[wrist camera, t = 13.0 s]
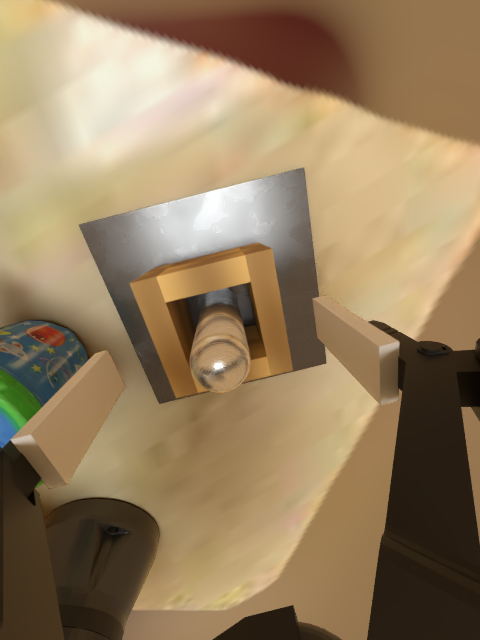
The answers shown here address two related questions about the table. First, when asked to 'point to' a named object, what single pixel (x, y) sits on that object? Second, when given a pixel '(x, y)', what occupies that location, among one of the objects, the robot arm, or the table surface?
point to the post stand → (224, 304)
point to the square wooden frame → (205, 276)
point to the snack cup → (33, 370)
